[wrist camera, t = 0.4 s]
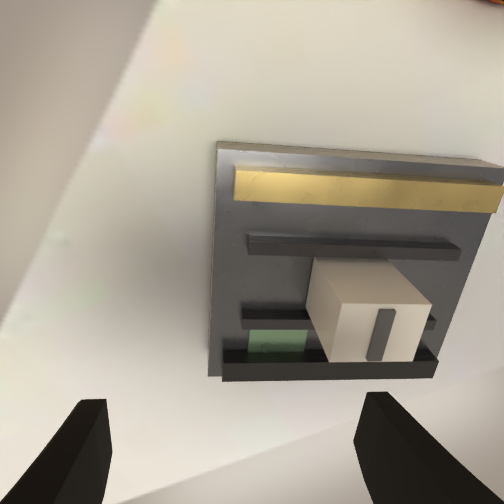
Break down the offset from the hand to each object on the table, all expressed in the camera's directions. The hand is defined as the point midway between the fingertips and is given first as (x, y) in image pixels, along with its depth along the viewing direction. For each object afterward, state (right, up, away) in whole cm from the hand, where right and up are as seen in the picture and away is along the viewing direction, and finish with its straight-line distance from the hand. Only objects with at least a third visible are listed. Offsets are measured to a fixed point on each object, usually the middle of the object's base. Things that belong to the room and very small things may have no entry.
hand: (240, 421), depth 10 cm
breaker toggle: (+5, +3, +8) cm, 10 cm away
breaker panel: (+5, +4, +10) cm, 11 cm away
